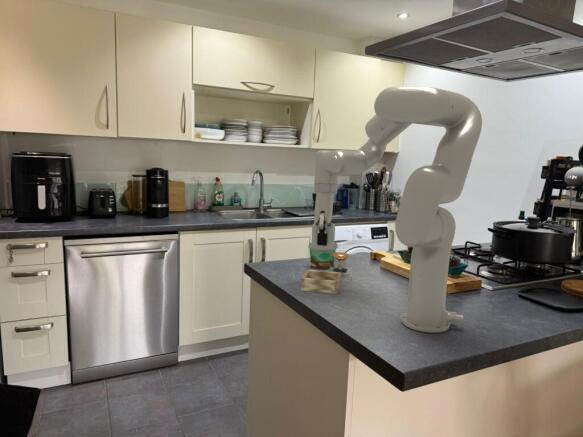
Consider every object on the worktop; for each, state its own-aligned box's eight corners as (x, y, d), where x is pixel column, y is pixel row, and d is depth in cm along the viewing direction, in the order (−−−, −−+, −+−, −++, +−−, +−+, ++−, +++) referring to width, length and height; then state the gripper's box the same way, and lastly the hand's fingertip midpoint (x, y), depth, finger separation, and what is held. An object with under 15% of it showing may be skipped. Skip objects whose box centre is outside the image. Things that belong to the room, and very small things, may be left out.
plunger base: (351, 276, 153) (352, 268, 153) (350, 282, 146) (350, 274, 145) (330, 274, 155) (330, 266, 155) (327, 280, 147) (327, 272, 147)
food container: (313, 271, 158) (314, 245, 157) (307, 267, 164) (308, 242, 162) (342, 269, 163) (343, 244, 161) (335, 265, 168) (336, 241, 167)
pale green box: (313, 243, 141) (314, 220, 140) (334, 245, 139) (335, 222, 138) (311, 246, 136) (312, 223, 135) (332, 248, 135) (333, 224, 133)
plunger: (348, 270, 152) (349, 252, 151) (347, 274, 147) (348, 256, 146) (333, 268, 153) (333, 251, 152) (331, 273, 148) (332, 255, 147)
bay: (340, 283, 144) (341, 272, 143) (337, 293, 133) (338, 281, 133) (306, 280, 146) (307, 269, 146) (301, 290, 136) (301, 278, 135)
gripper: (317, 186, 144) (315, 237, 147) (309, 190, 127) (307, 248, 130) (339, 187, 142) (337, 239, 145) (334, 191, 126) (331, 250, 129)
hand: (323, 242), depth 137 cm, fingers closed on pale green box, 5 cm apart
